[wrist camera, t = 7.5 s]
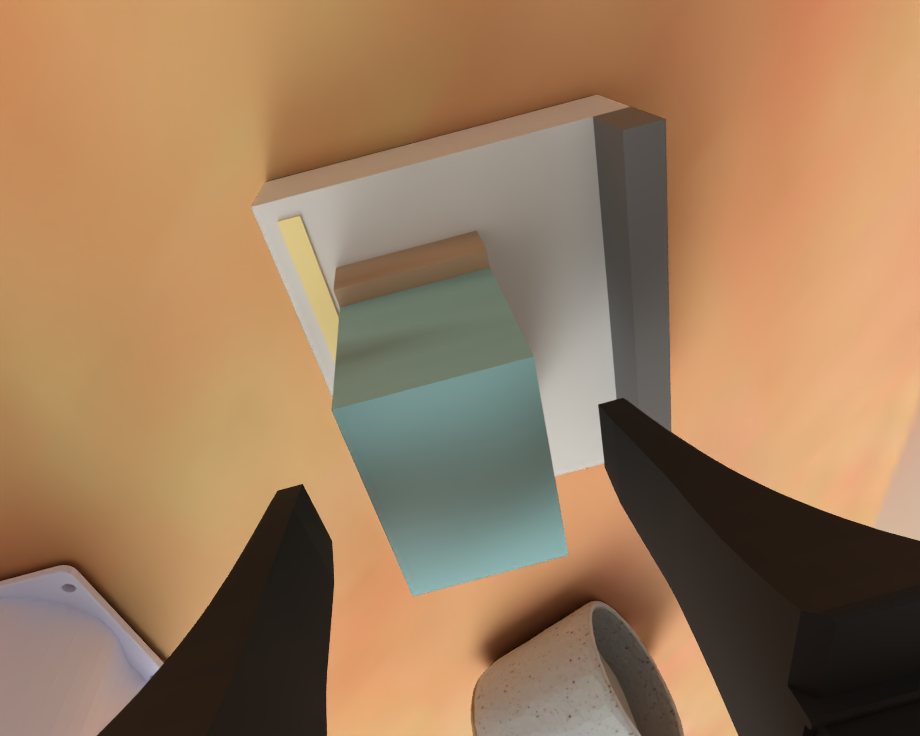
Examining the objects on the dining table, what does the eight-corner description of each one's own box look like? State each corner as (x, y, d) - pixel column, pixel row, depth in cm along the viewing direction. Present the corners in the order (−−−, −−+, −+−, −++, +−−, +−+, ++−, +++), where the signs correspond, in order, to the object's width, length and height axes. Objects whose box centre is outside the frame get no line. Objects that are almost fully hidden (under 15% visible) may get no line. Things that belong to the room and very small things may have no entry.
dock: (622, 411, 23) (672, 489, 19) (383, 474, 23) (387, 565, 19) (596, 94, 17) (665, 119, 13) (265, 182, 17) (236, 232, 13)
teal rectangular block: (517, 423, 20) (570, 567, 14) (403, 453, 20) (417, 608, 14) (476, 230, 16) (530, 334, 11) (335, 267, 16) (322, 389, 11)
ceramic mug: (449, 656, 31) (474, 829, 24) (570, 575, 28) (632, 742, 22) (563, 710, 36) (608, 865, 29) (672, 646, 34) (746, 798, 27)
